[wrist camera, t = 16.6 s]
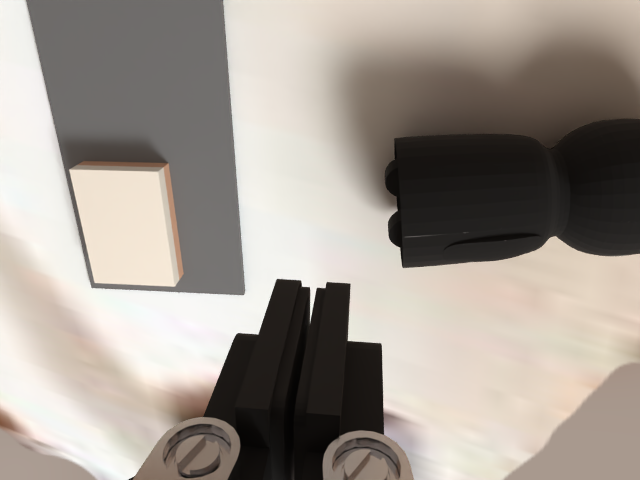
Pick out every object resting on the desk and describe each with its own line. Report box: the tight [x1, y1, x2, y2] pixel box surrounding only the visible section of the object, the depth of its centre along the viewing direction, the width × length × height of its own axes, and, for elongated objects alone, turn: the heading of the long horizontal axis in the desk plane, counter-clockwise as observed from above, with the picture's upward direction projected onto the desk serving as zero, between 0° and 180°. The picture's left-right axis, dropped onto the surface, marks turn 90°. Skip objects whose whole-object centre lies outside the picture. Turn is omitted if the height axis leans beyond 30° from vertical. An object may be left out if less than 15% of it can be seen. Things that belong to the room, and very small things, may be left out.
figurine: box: [385, 119, 640, 268], centre depth 35 cm, size 9×9×20 cm
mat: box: [27, 0, 245, 295], centre depth 40 cm, size 26×14×1 cm, turn 0°
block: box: [69, 161, 184, 287], centre depth 42 cm, size 10×2×7 cm
